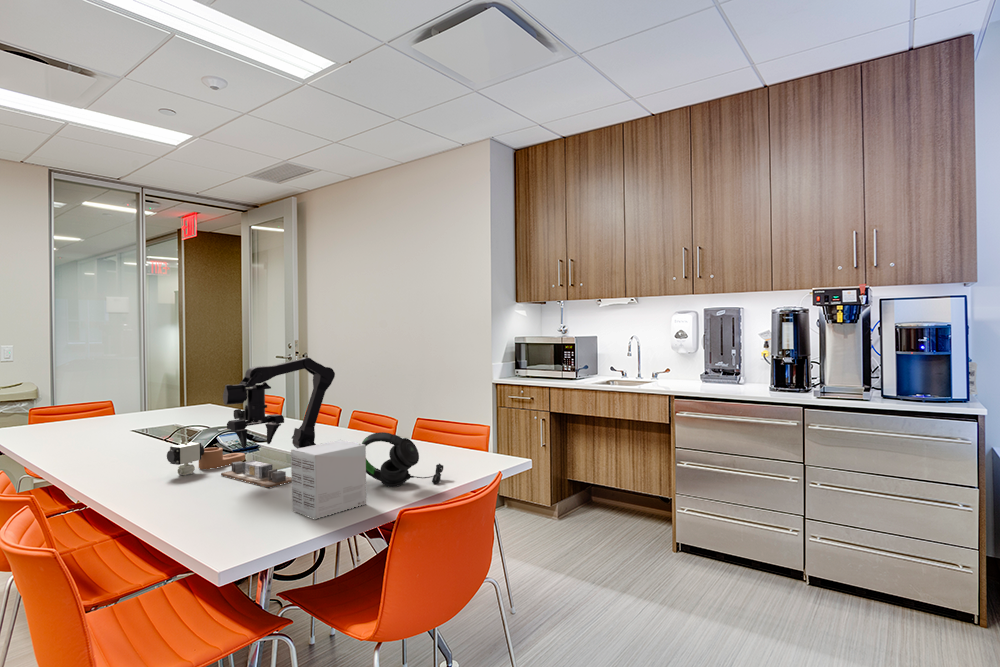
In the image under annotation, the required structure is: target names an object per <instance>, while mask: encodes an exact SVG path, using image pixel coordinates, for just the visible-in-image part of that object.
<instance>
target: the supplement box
mask: <svg viewBox="0 0 1000 667" xmlns="http://www.w3.org/2000/svg"><path fill="white" fill-rule="evenodd" d="M366 447H367V446H366V445H364V444H362V443H358V442H355V441H349V440H345V439H337V440H333V441H327V442H324V443H319V444H316V445H313V446H308V447H303V448H298V449H297V448H293V449H291V450H290V464H291V465H290V468H291V469H290V470H291V471H290V472H291V478H292V482H291V507H292V510H293V511H295V512H294V513H296V512H298V513H297V514H299V513H300V514H299V515H301V514H303V515H302V516H304V515H306V516H309V517H311V518H310V519H312V518H314V519H317V518H319V519H321V518H320V517H323V516H326V517H328V516H327V515H329V516H331V515H330V514H333V515H335V514H334V513H336V514H338V513H337V512H339V513H341V512H340V511H343V512H345V511H344V510H346V511H348V510H347V509H349V510H352V509H355V508H354V507H356V508H359V507H362V506H365V504H366V505H367V473H366V459H367V457H366V456H367V453H366V452H367V448H366ZM361 505H362V506H361ZM358 506H359V507H358ZM351 508H352V509H351ZM292 510H291V511H292ZM293 511H292V512H293ZM306 516H305V517H306ZM309 517H308V518H309ZM323 518H324V517H323ZM314 519H313V520H314ZM317 520H318V519H317Z"/></svg>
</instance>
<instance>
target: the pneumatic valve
mask: <svg viewBox="0 0 1000 667" xmlns="http://www.w3.org/2000/svg"><path fill="white" fill-rule="evenodd" d="M204 449H205V447H204V445H203V444H202V442H197V441H196V442H195V441H192V442H188V441H184V442H183V443H182V444H178V445H172V446H170V447H169V450H168V451H167V452H166V459H167V461H168V462H169V464H171V465H176V466H178V467H177V474H178V475H179V476H184V475H186V476H189V475H188V474H190V475H193V474H194V471H195V465H194V464H193V462H196V461H199V460H201V457H202V455H203V454H204ZM192 473H193V474H192Z"/></svg>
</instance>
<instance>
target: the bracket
mask: <svg viewBox="0 0 1000 667" xmlns="http://www.w3.org/2000/svg"><path fill="white" fill-rule="evenodd" d="M242 460H245V461H246V454H245V453H244V452H231V453H227V454H224V452H223V447H215V446H214V447H206V448H205V447H204V454H203V455H202V457H201V460H198V469H199V468H200V469H199V470H203V469H206V470H211V469H210V468H215V469H218V468H217V467H220V468H222V467H221V466H224V467H226V466H225V465H228V466H230V465H229V464H232V462H239V461H242Z"/></svg>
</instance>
